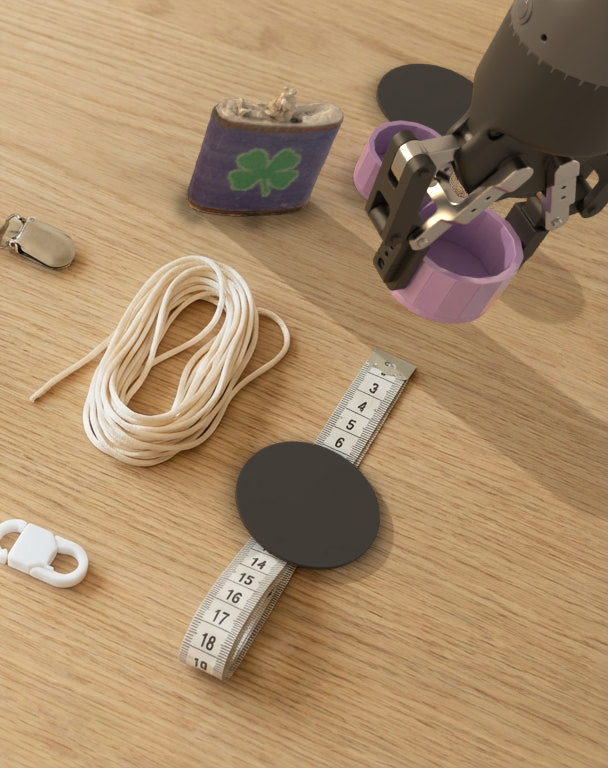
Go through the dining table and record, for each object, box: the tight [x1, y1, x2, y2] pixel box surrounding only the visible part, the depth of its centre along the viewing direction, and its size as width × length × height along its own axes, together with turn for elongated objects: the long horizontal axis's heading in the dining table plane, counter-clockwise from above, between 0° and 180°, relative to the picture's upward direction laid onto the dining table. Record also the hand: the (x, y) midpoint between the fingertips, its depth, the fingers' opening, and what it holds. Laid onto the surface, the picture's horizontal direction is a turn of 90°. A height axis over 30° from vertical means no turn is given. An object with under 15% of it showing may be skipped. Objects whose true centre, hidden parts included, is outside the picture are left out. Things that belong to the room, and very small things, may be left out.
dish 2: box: [387, 196, 524, 325], centre depth 67 cm, size 6×6×4 cm
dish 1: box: [352, 121, 441, 201], centre depth 91 cm, size 6×6×4 cm
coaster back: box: [375, 63, 474, 136], centre depth 98 cm, size 9×9×1 cm
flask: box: [185, 86, 345, 217], centre depth 87 cm, size 9×3×11 cm, turn 91°
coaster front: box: [234, 440, 381, 570], centre depth 77 cm, size 9×9×1 cm
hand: (445, 269), depth 68 cm, fingers closed on dish 2, 6 cm apart
